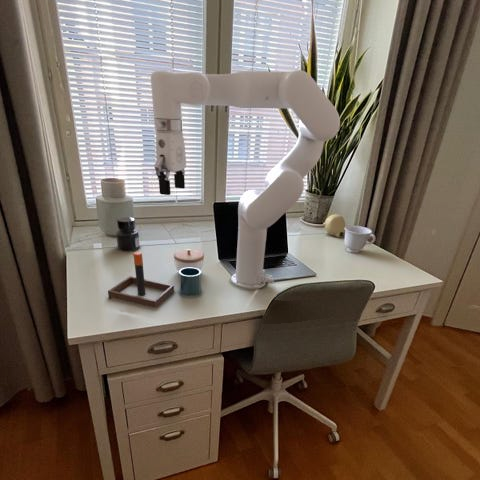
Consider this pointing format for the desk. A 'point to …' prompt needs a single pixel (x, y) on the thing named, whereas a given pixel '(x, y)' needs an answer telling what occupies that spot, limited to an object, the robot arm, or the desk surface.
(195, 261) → the trinket box
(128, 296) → the desk tray
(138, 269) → the marker
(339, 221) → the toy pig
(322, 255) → the desk surface
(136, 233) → the ink bottle
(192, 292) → the pen cup
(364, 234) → the teacup
